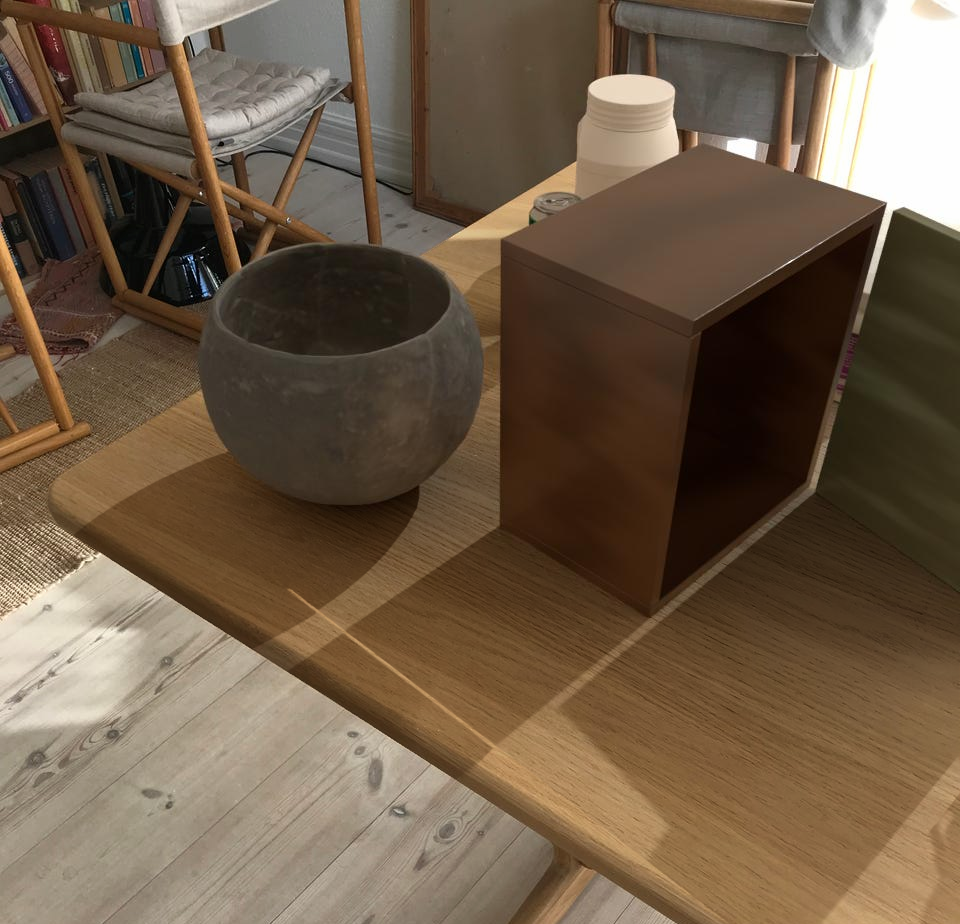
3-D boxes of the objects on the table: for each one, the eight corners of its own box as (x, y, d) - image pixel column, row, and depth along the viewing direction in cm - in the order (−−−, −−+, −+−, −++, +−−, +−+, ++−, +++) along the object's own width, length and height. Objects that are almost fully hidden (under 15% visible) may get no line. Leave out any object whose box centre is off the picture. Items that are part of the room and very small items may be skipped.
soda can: (582, 344, 95) (591, 214, 86) (527, 344, 95) (530, 215, 86) (578, 316, 98) (586, 188, 90) (525, 316, 98) (528, 189, 90)
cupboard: (810, 487, 80) (887, 202, 64) (648, 619, 70) (693, 321, 54) (664, 415, 87) (702, 142, 71) (499, 526, 77) (500, 238, 61)
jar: (667, 269, 105) (687, 111, 94) (572, 267, 105) (581, 110, 94) (660, 219, 113) (678, 68, 102) (572, 218, 113) (579, 68, 102)
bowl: (366, 595, 72) (342, 410, 61) (168, 487, 81) (118, 309, 70) (534, 455, 83) (539, 278, 72) (344, 373, 92) (324, 204, 81)
